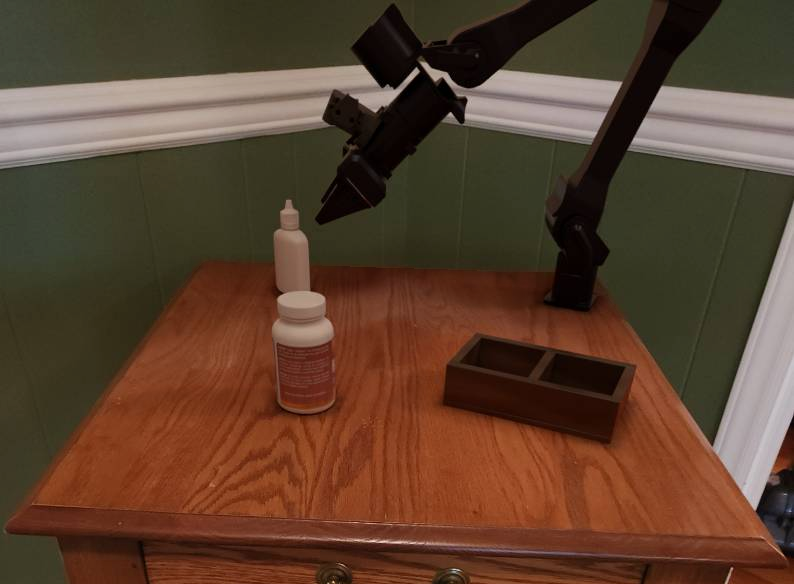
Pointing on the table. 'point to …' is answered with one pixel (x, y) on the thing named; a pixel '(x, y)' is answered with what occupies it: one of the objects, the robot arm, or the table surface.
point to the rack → (539, 386)
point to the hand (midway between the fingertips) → (320, 212)
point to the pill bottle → (303, 353)
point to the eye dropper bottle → (291, 253)
